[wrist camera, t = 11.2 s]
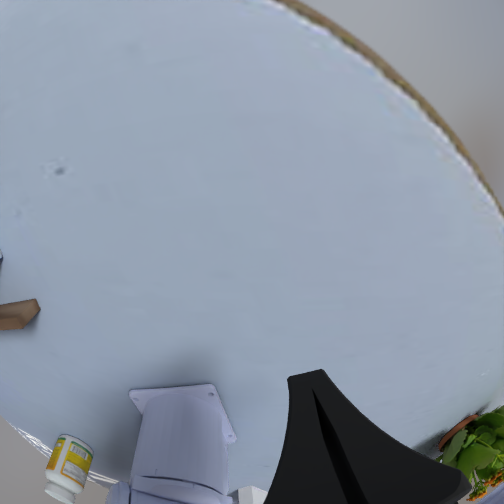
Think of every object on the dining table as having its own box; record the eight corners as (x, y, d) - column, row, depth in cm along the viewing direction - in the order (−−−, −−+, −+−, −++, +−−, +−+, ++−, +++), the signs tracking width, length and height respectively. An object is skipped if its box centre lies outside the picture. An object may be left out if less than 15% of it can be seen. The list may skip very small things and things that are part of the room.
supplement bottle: (88, 440, 25) (70, 499, 16) (98, 458, 27) (84, 511, 18) (54, 428, 24) (32, 482, 15) (65, 447, 26) (49, 497, 17)
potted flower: (398, 479, 38) (422, 538, 22) (399, 442, 30) (440, 530, 14) (489, 421, 36) (521, 468, 20) (515, 359, 28) (568, 418, 12)
